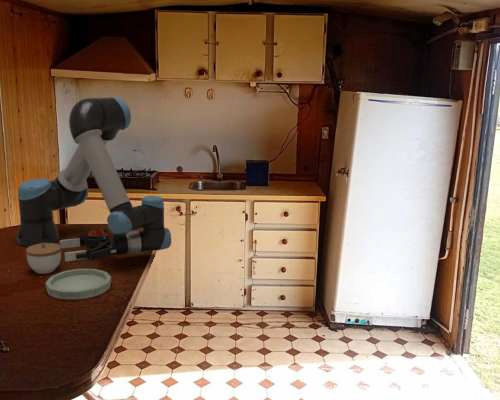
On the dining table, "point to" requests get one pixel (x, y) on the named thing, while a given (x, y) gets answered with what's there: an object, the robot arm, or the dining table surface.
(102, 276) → the rimmed tray
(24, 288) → the dining table surface
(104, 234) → the pomegranate
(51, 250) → the lidded jar
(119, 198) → the robot arm
